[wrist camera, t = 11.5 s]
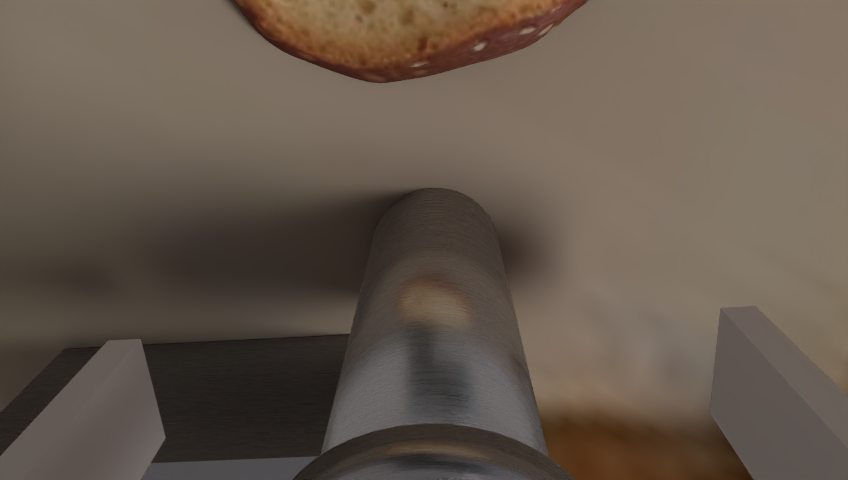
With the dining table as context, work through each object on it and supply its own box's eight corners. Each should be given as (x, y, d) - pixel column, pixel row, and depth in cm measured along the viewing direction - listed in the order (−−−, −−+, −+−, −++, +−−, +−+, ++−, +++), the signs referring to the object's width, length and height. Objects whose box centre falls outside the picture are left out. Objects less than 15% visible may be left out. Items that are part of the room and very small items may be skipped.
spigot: (348, 177, 20) (214, 484, 8) (512, 167, 20) (632, 468, 8) (365, 320, 22) (277, 747, 10) (515, 313, 22) (614, 739, 10)
